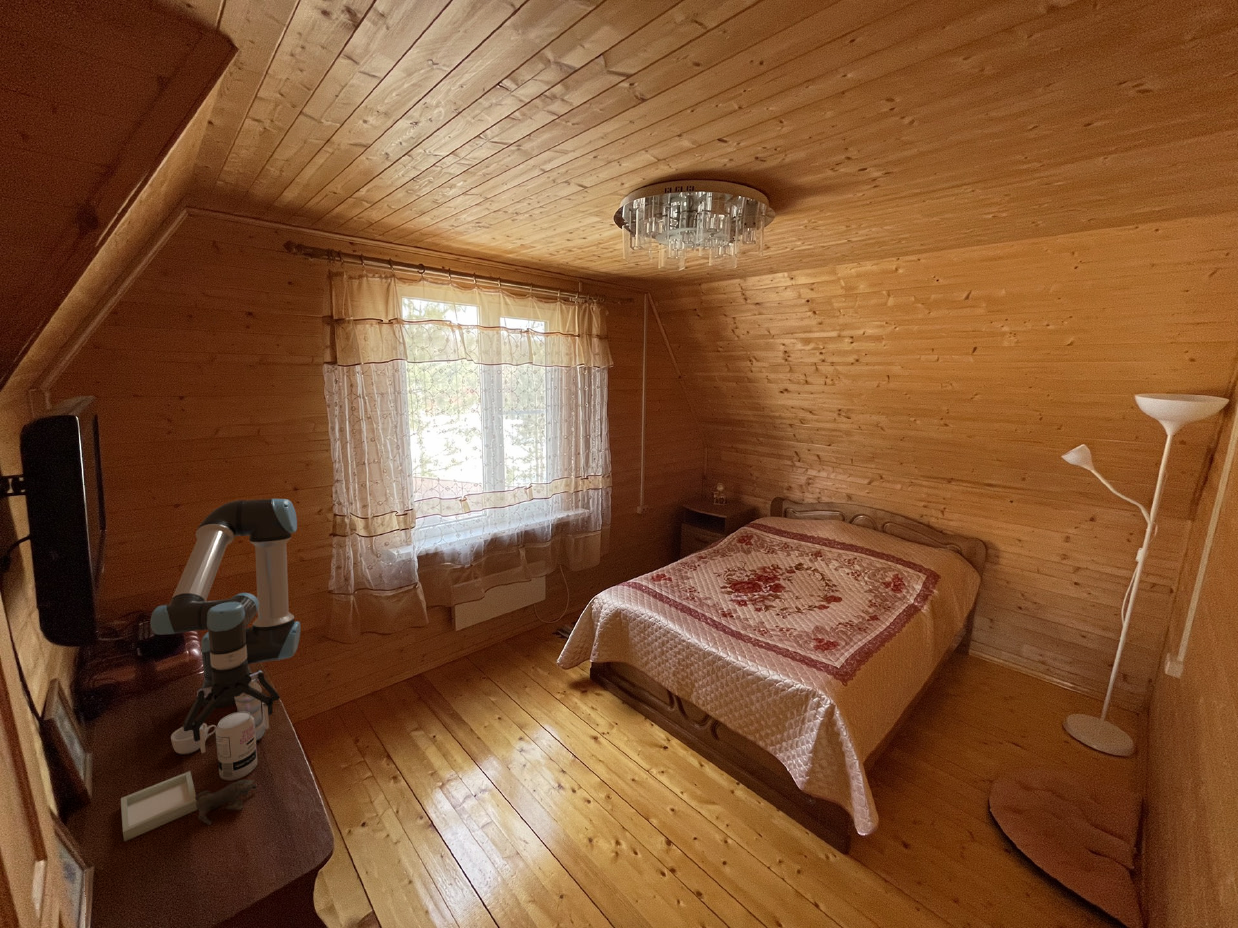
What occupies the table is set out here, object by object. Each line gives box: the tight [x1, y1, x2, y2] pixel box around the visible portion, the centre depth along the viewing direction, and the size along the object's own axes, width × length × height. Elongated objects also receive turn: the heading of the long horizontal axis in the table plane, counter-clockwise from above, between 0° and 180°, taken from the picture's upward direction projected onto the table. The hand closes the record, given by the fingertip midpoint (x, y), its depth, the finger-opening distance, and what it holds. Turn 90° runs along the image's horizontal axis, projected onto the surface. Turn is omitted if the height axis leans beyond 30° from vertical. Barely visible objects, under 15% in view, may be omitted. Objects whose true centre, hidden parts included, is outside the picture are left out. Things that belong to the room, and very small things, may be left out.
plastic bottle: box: [234, 672, 266, 742], centre depth 147 cm, size 6×7×20 cm
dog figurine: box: [195, 779, 258, 826], centre depth 124 cm, size 12×6×7 cm, turn 132°
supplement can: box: [214, 711, 258, 781], centre depth 136 cm, size 8×8×15 cm
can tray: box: [120, 770, 199, 843], centre depth 124 cm, size 13×13×2 cm
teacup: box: [170, 722, 217, 755], centre depth 145 cm, size 10×8×5 cm
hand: (235, 738), depth 135 cm, fingers open, 13 cm apart
